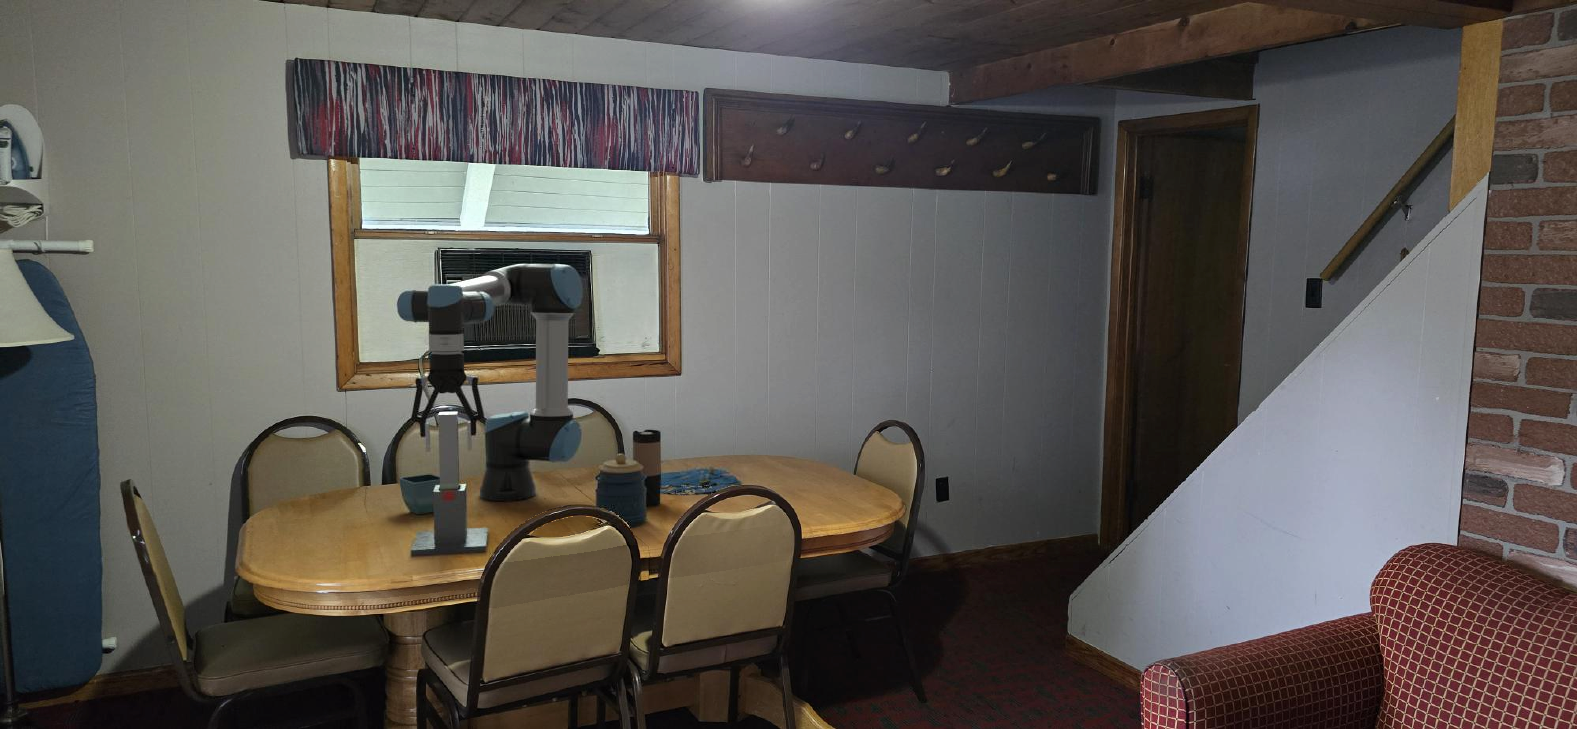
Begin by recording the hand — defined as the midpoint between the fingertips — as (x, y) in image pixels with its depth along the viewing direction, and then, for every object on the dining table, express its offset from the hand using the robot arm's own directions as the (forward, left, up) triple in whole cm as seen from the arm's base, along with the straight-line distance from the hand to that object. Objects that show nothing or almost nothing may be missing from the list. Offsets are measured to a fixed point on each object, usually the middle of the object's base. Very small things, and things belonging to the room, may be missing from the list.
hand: (448, 450), depth 234 cm
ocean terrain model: (+10, +82, -23) cm, 86 cm away
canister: (+20, +37, -23) cm, 48 cm away
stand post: (0, 0, -14) cm, 14 cm away
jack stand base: (0, 0, -22) cm, 22 cm away
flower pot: (-30, +17, -23) cm, 41 cm away
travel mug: (+14, +55, -23) cm, 61 cm away
